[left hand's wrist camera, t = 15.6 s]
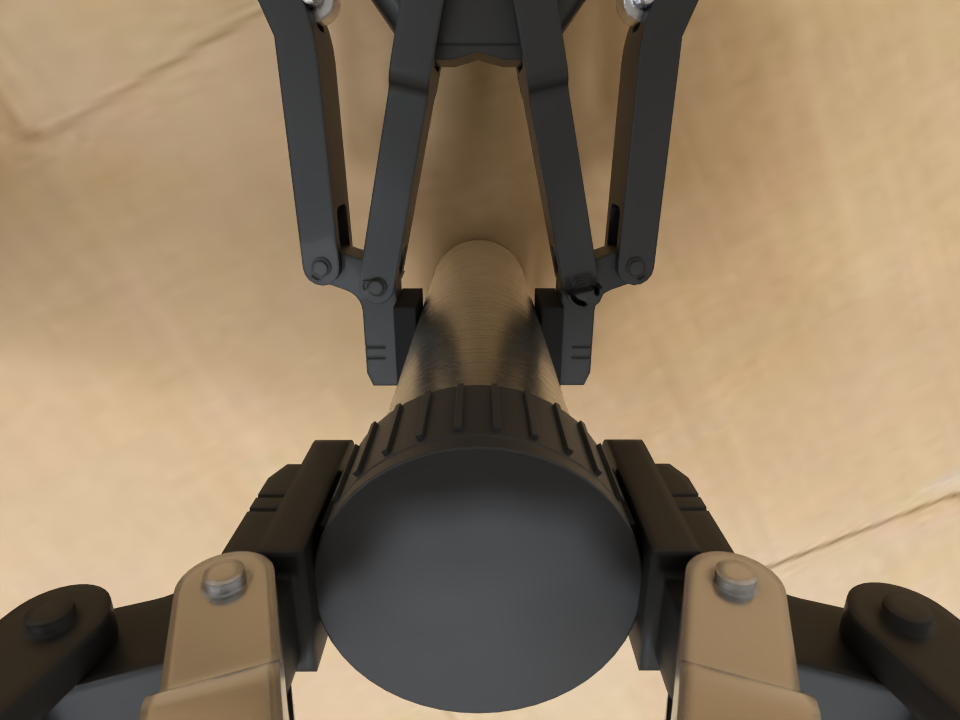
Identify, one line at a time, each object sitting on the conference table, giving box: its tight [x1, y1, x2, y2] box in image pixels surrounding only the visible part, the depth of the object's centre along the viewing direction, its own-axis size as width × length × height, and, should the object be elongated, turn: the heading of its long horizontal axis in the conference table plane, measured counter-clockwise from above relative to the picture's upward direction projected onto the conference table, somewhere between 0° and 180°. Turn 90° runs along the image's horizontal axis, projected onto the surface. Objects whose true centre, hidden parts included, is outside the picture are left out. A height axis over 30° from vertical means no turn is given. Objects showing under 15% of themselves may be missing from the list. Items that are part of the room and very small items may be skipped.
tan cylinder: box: [388, 240, 569, 414], centre depth 19 cm, size 4×4×20 cm
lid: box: [314, 383, 642, 713], centre depth 10 cm, size 5×5×2 cm
